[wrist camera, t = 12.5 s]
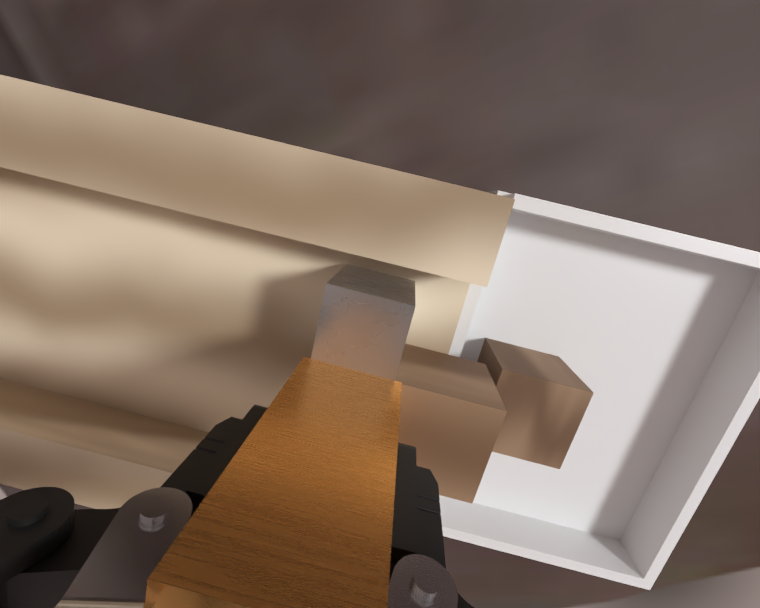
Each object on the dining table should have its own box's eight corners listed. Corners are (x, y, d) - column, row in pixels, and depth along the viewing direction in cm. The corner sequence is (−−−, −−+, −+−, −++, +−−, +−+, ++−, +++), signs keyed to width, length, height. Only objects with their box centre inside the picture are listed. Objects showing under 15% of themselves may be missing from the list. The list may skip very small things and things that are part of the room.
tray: (487, 192, 19) (501, 190, 16) (767, 259, 18) (832, 270, 16) (400, 485, 24) (398, 524, 21) (620, 542, 23) (649, 590, 20)
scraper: (341, 262, 16) (162, 415, 5) (420, 282, 16) (439, 488, 5) (303, 438, 19) (125, 823, 7) (372, 456, 19) (305, 874, 7)
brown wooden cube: (398, 341, 17) (394, 382, 13) (485, 364, 17) (507, 411, 13) (377, 418, 18) (368, 475, 14) (459, 439, 18) (472, 503, 14)
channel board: (-51, 72, 20) (-295, 3, 13) (478, 200, 19) (515, 199, 12) (-30, 366, 24) (-203, 429, 17) (397, 477, 23) (390, 587, 17)
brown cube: (502, 369, 16) (593, 392, 16) (485, 337, 20) (558, 356, 20) (474, 446, 17) (559, 469, 17) (463, 402, 21) (533, 420, 21)
